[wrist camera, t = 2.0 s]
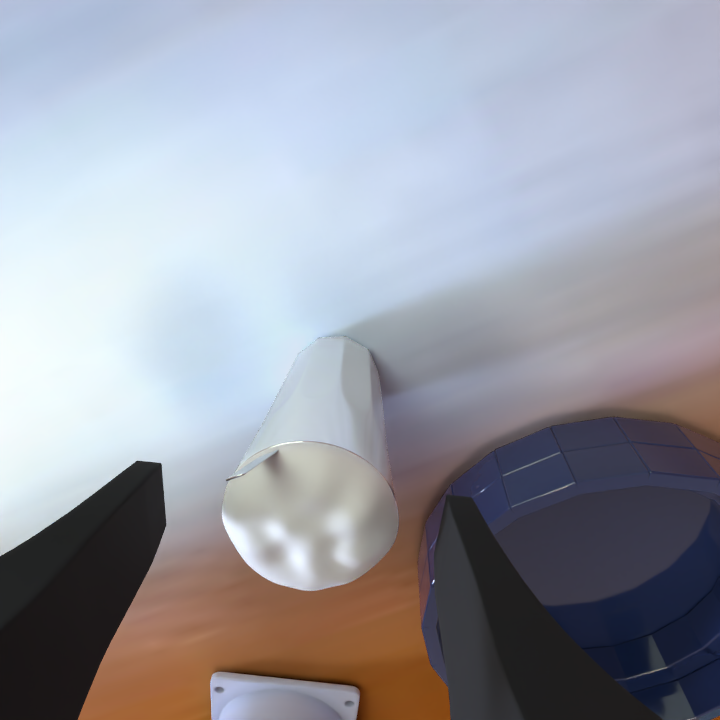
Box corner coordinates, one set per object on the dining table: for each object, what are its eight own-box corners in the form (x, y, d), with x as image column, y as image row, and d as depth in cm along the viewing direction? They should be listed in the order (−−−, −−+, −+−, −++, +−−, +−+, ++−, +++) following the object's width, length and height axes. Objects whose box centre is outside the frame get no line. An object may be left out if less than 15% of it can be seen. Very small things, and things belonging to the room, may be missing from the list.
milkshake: (360, 280, 20) (336, 444, 11) (411, 401, 22) (427, 621, 13) (247, 323, 21) (141, 506, 12) (307, 435, 23) (255, 661, 14)
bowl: (688, 673, 28) (731, 758, 25) (399, 641, 28) (400, 722, 25) (825, 431, 22) (911, 500, 18) (448, 390, 22) (459, 451, 18)
